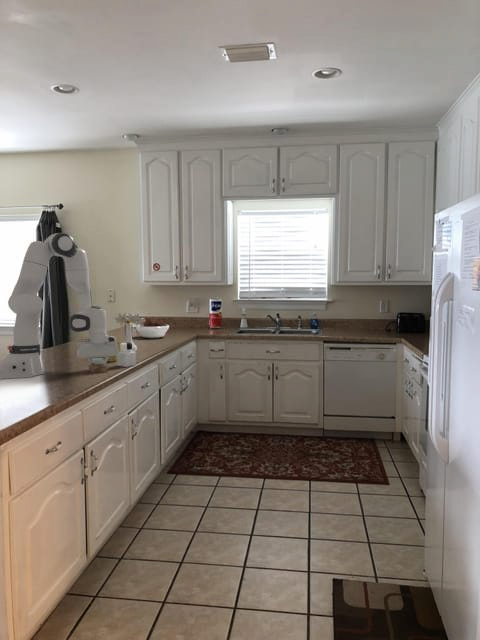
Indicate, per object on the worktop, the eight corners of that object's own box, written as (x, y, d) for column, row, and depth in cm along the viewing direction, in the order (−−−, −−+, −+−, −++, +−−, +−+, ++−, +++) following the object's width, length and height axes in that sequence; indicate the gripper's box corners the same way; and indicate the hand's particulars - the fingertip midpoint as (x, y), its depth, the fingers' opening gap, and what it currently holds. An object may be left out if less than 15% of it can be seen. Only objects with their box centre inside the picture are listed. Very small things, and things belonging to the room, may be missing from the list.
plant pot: (115, 358, 290) (115, 341, 289) (125, 360, 283) (125, 343, 282) (99, 360, 283) (99, 342, 282) (109, 362, 275) (108, 344, 275)
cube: (94, 370, 253) (94, 360, 253) (92, 368, 258) (91, 358, 257) (104, 369, 256) (104, 359, 256) (102, 367, 260) (101, 358, 260)
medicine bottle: (127, 363, 272) (127, 341, 271) (136, 365, 268) (135, 342, 267) (116, 365, 267) (116, 342, 266) (125, 367, 262) (124, 344, 261)
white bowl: (137, 336, 399) (137, 316, 397) (169, 335, 401) (169, 316, 400) (134, 340, 374) (134, 319, 373) (168, 339, 377) (168, 319, 375)
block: (92, 373, 245) (92, 367, 245) (89, 370, 251) (88, 364, 251) (107, 371, 249) (107, 365, 249) (103, 369, 255) (103, 363, 255)
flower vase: (143, 356, 299) (143, 313, 296) (112, 355, 299) (111, 313, 297) (147, 352, 312) (147, 312, 309) (117, 352, 312) (117, 311, 310)
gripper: (78, 340, 247) (78, 368, 249) (119, 338, 258) (119, 365, 259) (75, 339, 253) (75, 366, 254) (115, 336, 263) (116, 363, 265)
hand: (98, 365), depth 257 cm, fingers closed on cube, 5 cm apart
